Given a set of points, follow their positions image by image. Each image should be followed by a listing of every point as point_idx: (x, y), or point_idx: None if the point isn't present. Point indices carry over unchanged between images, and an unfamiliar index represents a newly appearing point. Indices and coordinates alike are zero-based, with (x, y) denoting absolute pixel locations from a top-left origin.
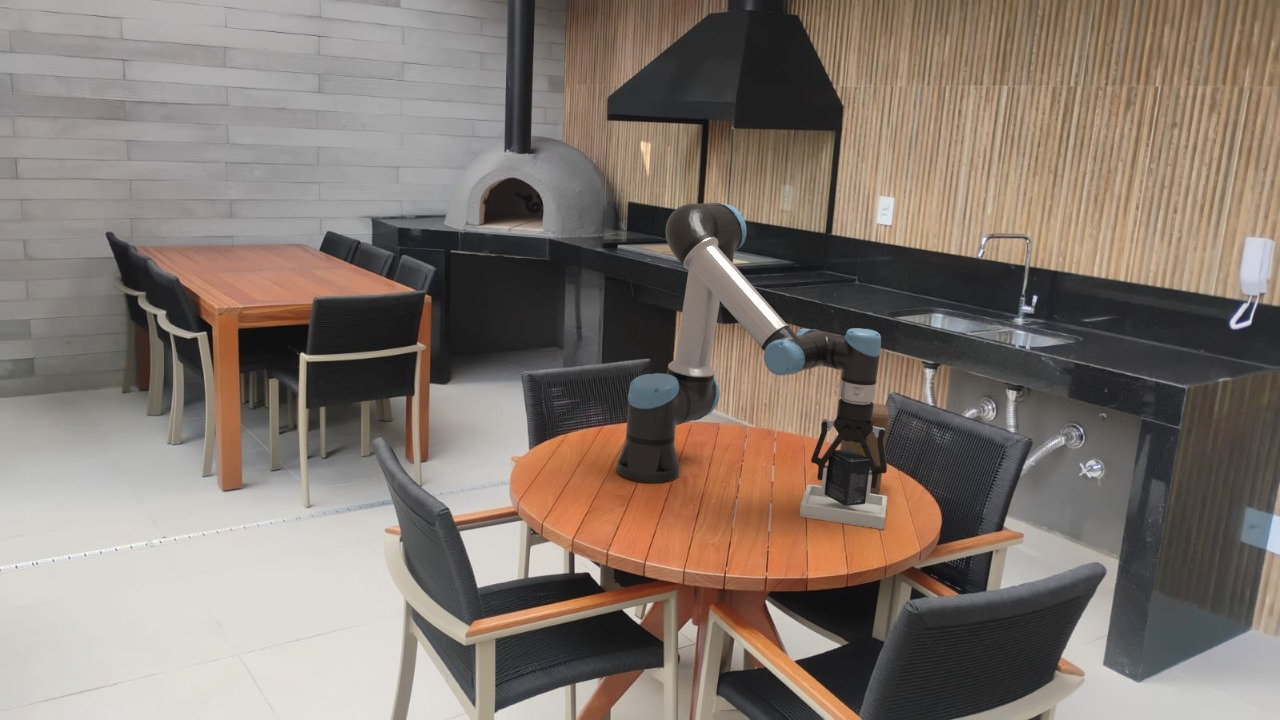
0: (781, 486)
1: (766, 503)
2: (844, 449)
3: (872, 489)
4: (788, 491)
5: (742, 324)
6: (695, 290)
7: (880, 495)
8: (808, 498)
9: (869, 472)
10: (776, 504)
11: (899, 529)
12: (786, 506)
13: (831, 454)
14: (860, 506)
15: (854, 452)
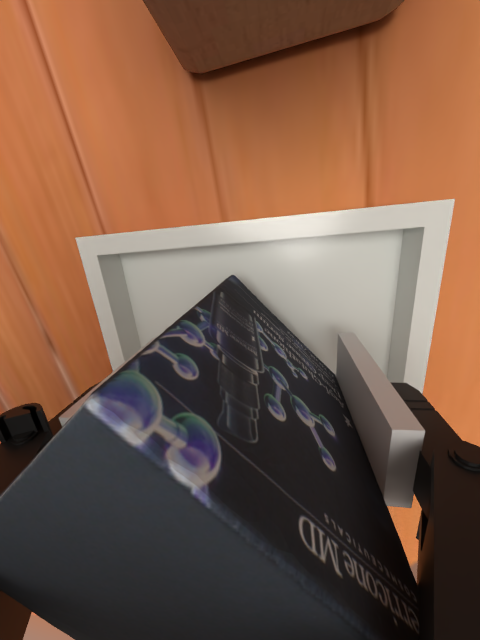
0: (5, 184)
1: (49, 364)
2: (43, 466)
3: (367, 15)
4: (46, 227)
5: None
6: None
7: (414, 211)
8: (131, 343)
9: (392, 461)
10: (71, 360)
11: (449, 404)
12: (98, 362)
13: (24, 617)
14: (311, 290)
15: (214, 557)
